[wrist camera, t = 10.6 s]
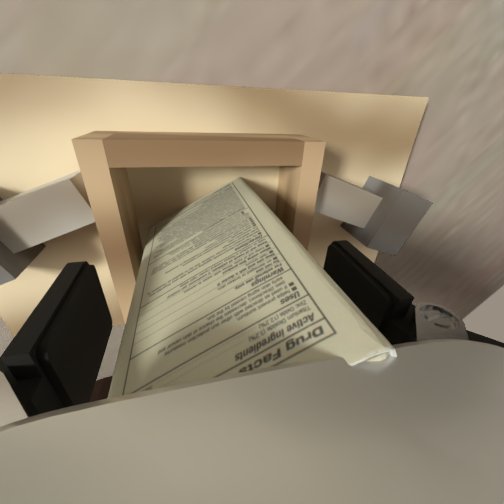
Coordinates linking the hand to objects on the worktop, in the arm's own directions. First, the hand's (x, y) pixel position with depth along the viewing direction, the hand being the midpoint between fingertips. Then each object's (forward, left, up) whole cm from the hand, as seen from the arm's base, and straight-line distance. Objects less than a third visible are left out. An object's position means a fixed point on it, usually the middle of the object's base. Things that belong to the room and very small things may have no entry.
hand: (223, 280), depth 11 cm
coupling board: (0, 0, -7) cm, 7 cm away
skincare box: (0, 0, -6) cm, 6 cm away
